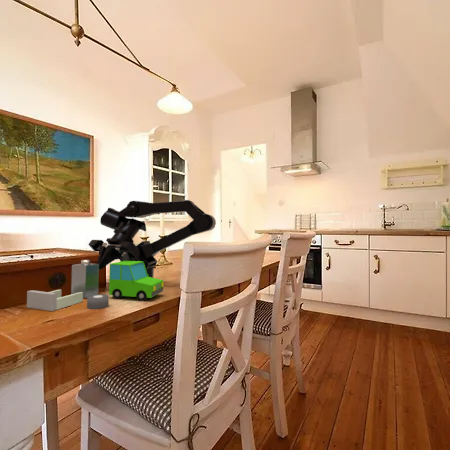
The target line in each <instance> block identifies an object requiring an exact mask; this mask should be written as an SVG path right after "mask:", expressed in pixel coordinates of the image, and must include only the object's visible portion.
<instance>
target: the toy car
mask: <svg viewBox="0 0 450 450" xmlns="http://www.w3.org/2000/svg"><path fill="white" fill-rule="evenodd" d="M148 276H149V275H148V274H147V271H146V268H145V265H144V262H143V261H117V262H111V263H109V278H108V279H109V282H108V283H109V284H108V287H109V288H108V296H112V298H114V299H115V300H121V299H122V298H123V297H130V298H131V297H133V298H134V297H135V298H136V299H137V300H138V301H139V302H144V301H146V300H147V299H148V298H149V299H151V298H153V297H156V296H157V295H159V294H160V293H163V292H164V284H165V283H164V279H160V278H156V277H153V278H152V277H148Z"/></svg>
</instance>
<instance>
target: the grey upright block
mask: <svg viewBox="0 0 450 450" xmlns="http://www.w3.org/2000/svg"><path fill="white" fill-rule="evenodd" d="M80 262H81V263H76V264H72V265H71V283H70V284H71V288H70V289H71V290H70V292H71V293H70V295H71V294H75V293H79V292H83V299H87V297H88V296H91V295H97V294H99V283H100V282H99V279H100V278H99V275H100V273H99V271H100V270H99V264H97V263H92V262H91V260H90V259H81V261H80Z"/></svg>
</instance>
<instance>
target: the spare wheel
mask: <svg viewBox="0 0 450 450" xmlns="http://www.w3.org/2000/svg"><path fill="white" fill-rule="evenodd" d="M109 298H110V295H109V294H102V293H100V294H99V293H98V294H97V295H91V296H88V297H87V298H86V300H87V301H86V309H89V310H101V309H105V308H108V307H109V303H110V301H109Z"/></svg>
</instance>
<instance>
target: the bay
mask: <svg viewBox="0 0 450 450" xmlns="http://www.w3.org/2000/svg"><path fill="white" fill-rule="evenodd" d="M83 301H84V298H83V292H79V293H75V294H71V293H70V294H69V295H65V296H62V289H56V290H52V291H48V292H47V291H41V290H33V289H32V290H27V291H26V308H27V309H35V310H42V311H48V312H54V311H56V310H57V311H58V310H61V309H64V308H66V307H70V306H72V305H76V304H79V303H82V302H83Z"/></svg>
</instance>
